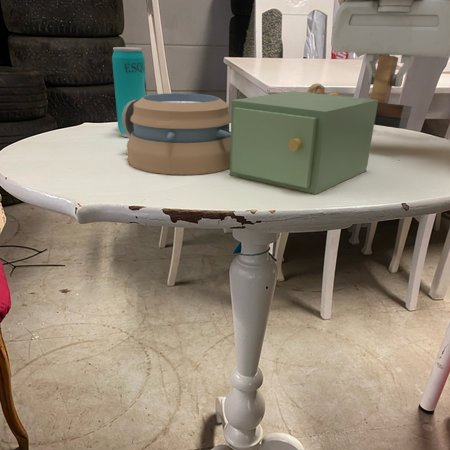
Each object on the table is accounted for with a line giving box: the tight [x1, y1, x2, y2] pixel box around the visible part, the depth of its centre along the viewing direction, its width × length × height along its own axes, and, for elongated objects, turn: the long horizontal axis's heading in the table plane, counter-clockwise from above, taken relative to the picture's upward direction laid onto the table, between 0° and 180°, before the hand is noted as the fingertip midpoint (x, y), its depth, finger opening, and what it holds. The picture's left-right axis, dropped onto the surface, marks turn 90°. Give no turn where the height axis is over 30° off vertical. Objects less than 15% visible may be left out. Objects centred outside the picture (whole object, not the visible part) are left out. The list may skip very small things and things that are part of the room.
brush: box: [369, 54, 413, 129], centre depth 79 cm, size 10×4×10 cm, turn 52°
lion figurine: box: [306, 82, 341, 96], centre depth 102 cm, size 15×5×9 cm, turn 144°
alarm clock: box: [122, 92, 231, 176], centre depth 74 cm, size 17×9×23 cm
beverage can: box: [111, 46, 148, 139], centre depth 87 cm, size 6×6×15 cm
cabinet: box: [229, 91, 378, 195], centre depth 66 cm, size 14×18×10 cm
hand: (384, 85), depth 79 cm, fingers closed on brush, 2 cm apart
